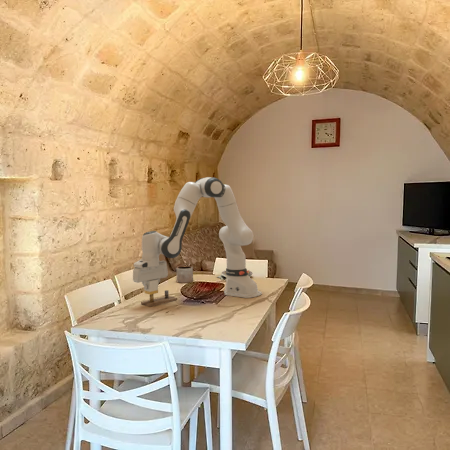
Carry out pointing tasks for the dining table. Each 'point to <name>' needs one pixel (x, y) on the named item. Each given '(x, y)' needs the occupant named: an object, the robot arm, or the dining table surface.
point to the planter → (184, 274)
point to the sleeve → (152, 287)
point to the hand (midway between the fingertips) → (151, 288)
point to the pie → (226, 275)
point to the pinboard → (158, 300)
